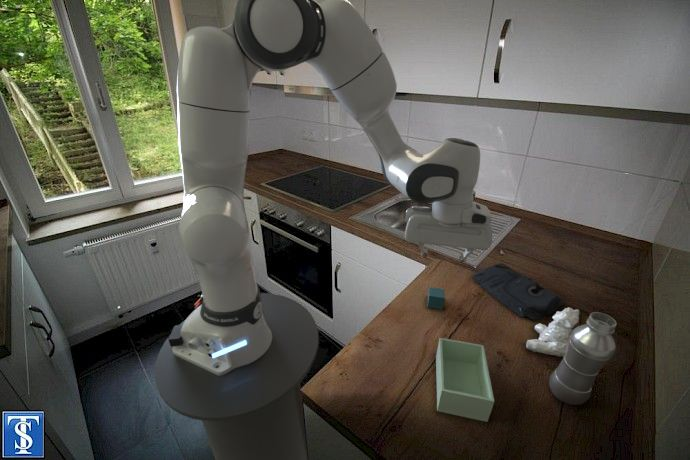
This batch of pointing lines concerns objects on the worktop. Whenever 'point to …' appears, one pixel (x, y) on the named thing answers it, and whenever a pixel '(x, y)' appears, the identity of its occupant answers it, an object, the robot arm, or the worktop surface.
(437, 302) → the block
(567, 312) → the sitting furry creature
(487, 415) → the bin
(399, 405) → the worktop surface
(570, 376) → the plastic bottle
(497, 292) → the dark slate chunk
